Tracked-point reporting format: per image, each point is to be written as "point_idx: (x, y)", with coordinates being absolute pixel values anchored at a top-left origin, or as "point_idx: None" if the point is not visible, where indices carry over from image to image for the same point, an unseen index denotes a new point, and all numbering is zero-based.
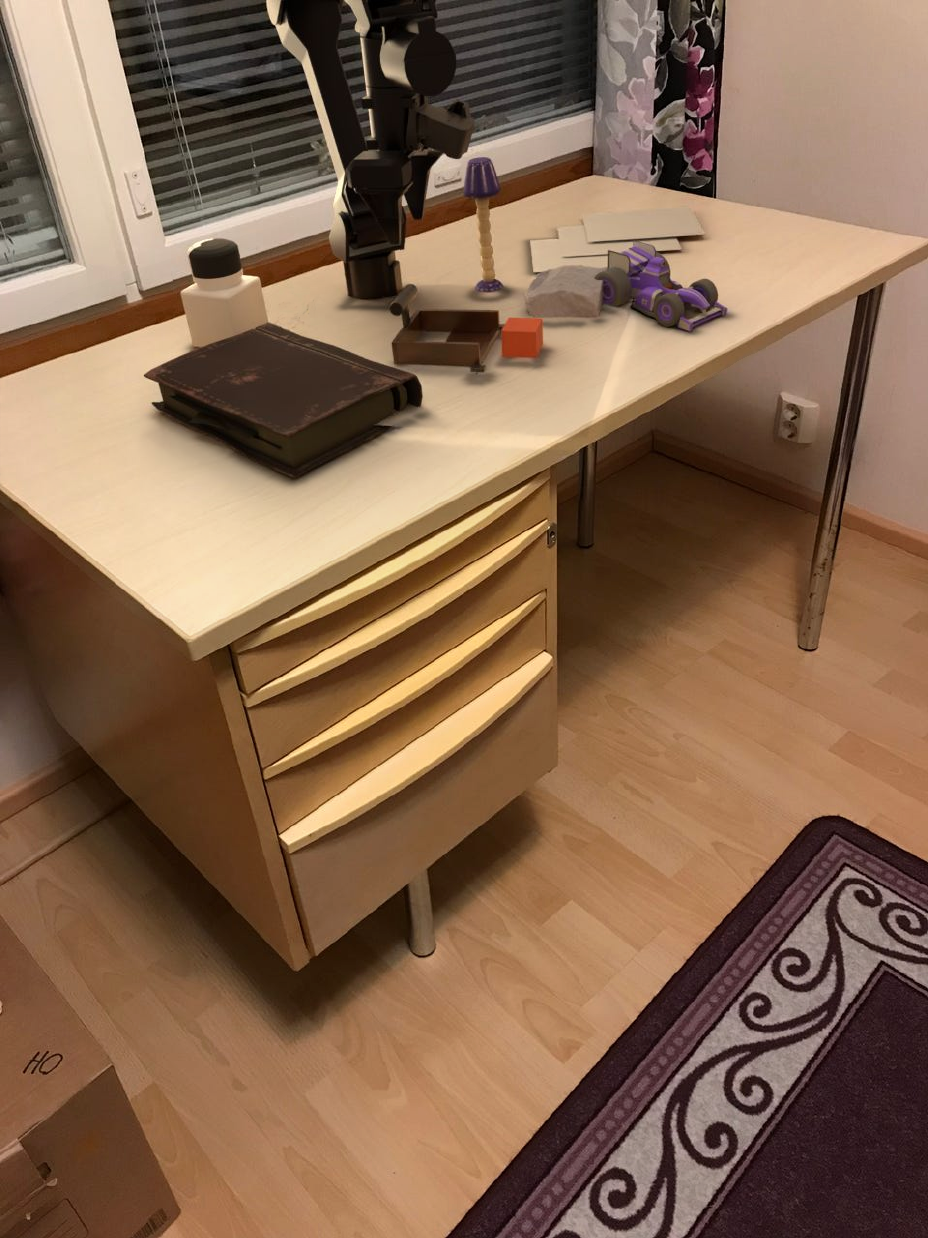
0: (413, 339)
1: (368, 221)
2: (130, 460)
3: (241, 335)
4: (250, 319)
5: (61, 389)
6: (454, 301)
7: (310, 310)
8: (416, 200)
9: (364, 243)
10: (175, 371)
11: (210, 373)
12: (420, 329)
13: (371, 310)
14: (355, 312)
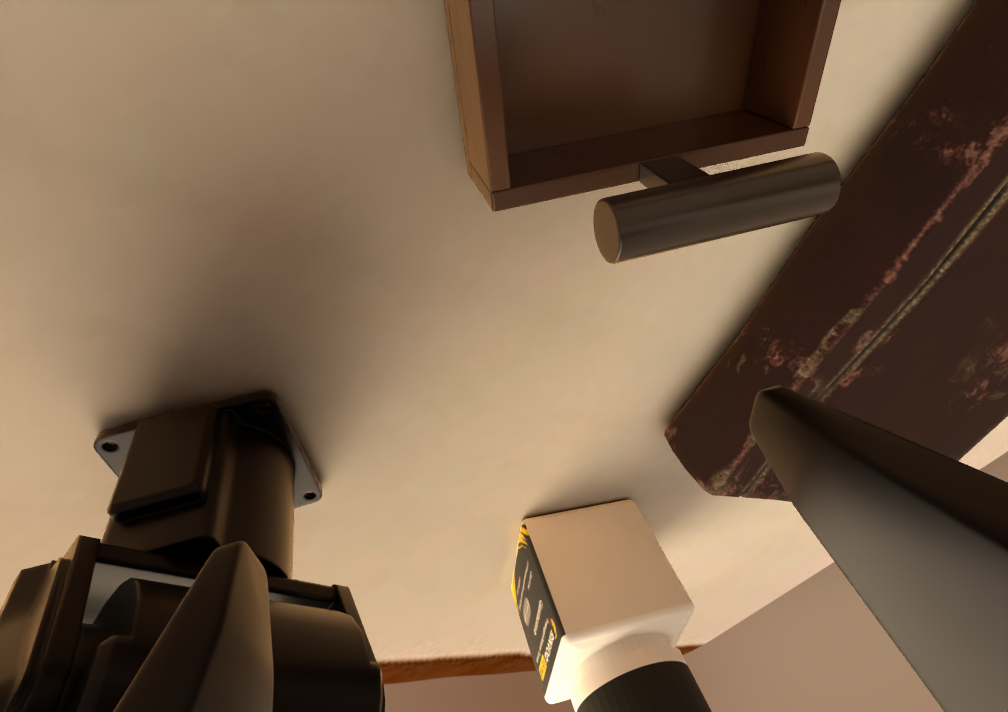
0: (599, 142)
1: (311, 701)
2: None
3: (781, 490)
4: (600, 550)
5: (752, 584)
6: (60, 207)
7: (375, 531)
8: (235, 704)
9: (325, 612)
10: None
11: (958, 422)
12: (511, 160)
13: (312, 421)
14: (345, 446)
